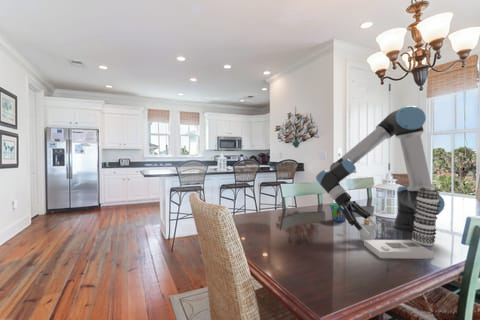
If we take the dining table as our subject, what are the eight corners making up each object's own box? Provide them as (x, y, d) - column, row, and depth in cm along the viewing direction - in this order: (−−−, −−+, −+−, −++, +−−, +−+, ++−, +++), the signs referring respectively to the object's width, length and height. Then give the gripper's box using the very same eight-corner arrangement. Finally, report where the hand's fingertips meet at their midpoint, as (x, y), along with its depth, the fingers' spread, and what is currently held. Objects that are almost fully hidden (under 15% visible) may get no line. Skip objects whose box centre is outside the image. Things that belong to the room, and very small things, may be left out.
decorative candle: (439, 247, 105) (446, 190, 103) (414, 243, 108) (420, 188, 106) (431, 239, 113) (437, 187, 111) (407, 236, 117) (413, 185, 114)
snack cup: (336, 216, 160) (336, 201, 160) (352, 219, 153) (352, 203, 153) (325, 221, 149) (324, 205, 149) (342, 224, 142) (342, 207, 142)
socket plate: (410, 245, 107) (410, 238, 107) (433, 258, 93) (433, 250, 93) (364, 245, 108) (363, 238, 108) (380, 258, 94) (380, 250, 94)
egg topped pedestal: (369, 239, 116) (369, 218, 116) (374, 242, 112) (374, 220, 112) (359, 239, 116) (359, 218, 116) (364, 242, 112) (364, 220, 112)
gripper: (345, 197, 134) (375, 231, 122) (323, 203, 117) (355, 243, 106) (355, 189, 130) (387, 222, 118) (333, 194, 113) (368, 233, 102)
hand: (372, 232), depth 112 cm, fingers open, 12 cm apart
